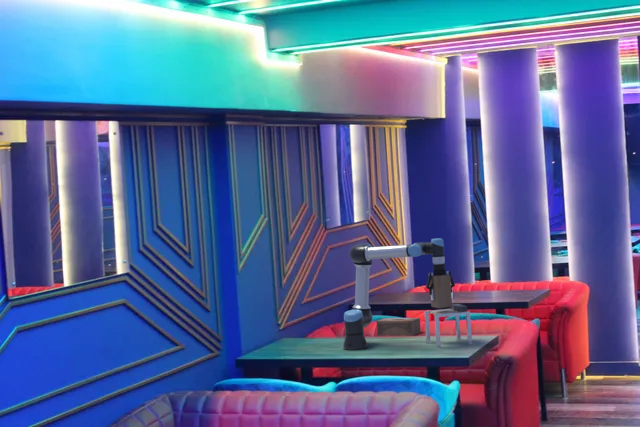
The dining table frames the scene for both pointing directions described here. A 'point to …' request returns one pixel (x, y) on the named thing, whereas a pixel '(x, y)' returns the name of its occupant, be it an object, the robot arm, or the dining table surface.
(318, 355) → the dining table surface
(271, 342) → the dining table surface
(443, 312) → the trapdoor
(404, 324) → the tissue box cover
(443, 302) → the block
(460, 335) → the frame
